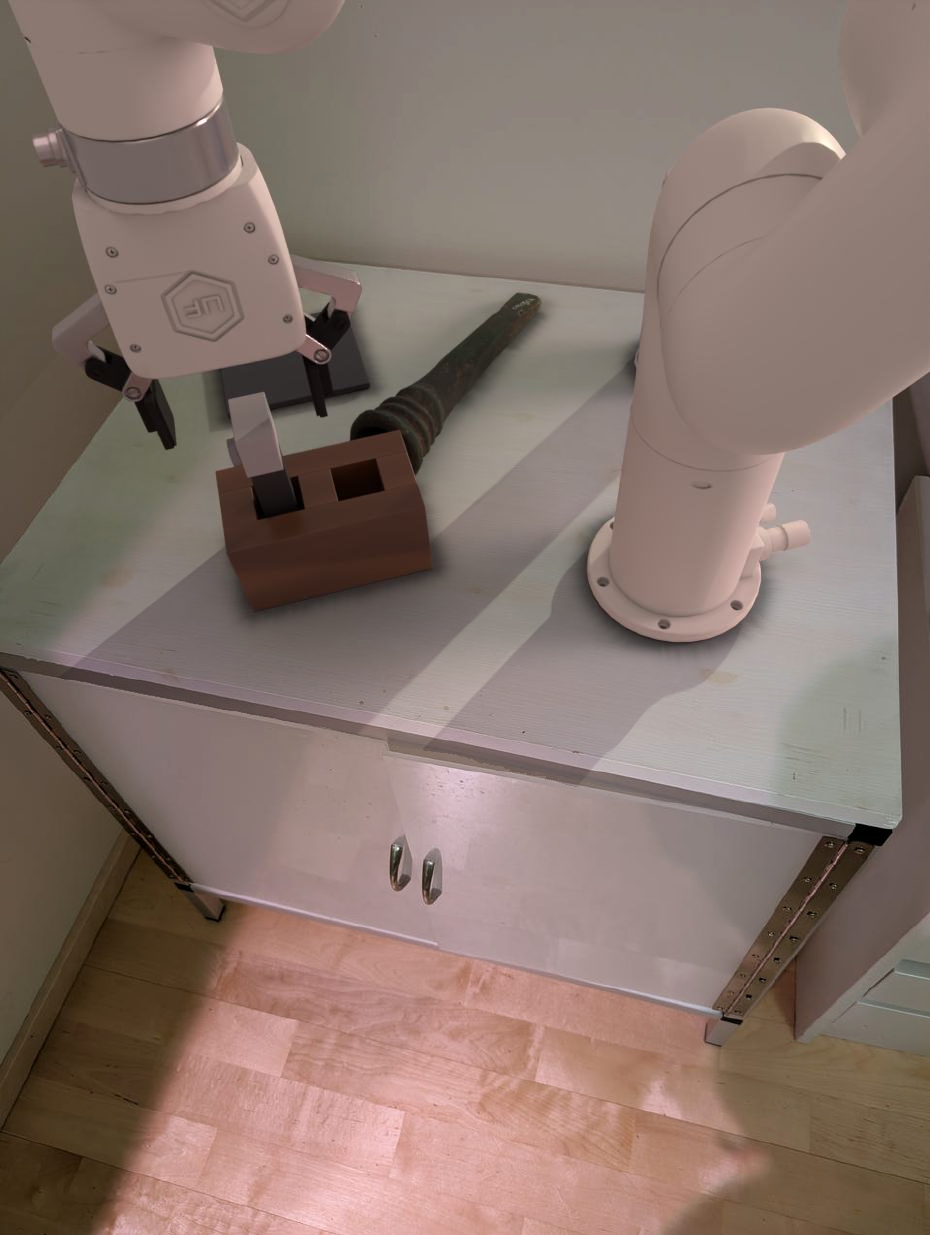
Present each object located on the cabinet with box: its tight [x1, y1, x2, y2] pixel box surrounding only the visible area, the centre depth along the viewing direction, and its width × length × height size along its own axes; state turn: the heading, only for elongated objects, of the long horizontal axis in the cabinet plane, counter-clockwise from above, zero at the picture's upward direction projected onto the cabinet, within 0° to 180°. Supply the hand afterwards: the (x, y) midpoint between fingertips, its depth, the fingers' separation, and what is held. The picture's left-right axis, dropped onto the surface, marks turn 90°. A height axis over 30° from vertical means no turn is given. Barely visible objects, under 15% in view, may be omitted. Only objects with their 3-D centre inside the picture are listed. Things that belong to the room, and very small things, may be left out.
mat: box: [220, 311, 371, 419], centre depth 79 cm, size 13×12×1 cm
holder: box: [215, 430, 434, 613], centre depth 63 cm, size 8×14×7 cm, turn 105°
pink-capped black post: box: [226, 392, 300, 518], centre depth 59 cm, size 3×4×14 cm
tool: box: [349, 292, 542, 476], centre depth 73 cm, size 28×6×7 cm, turn 147°
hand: (245, 418), depth 54 cm, fingers open, 9 cm apart
